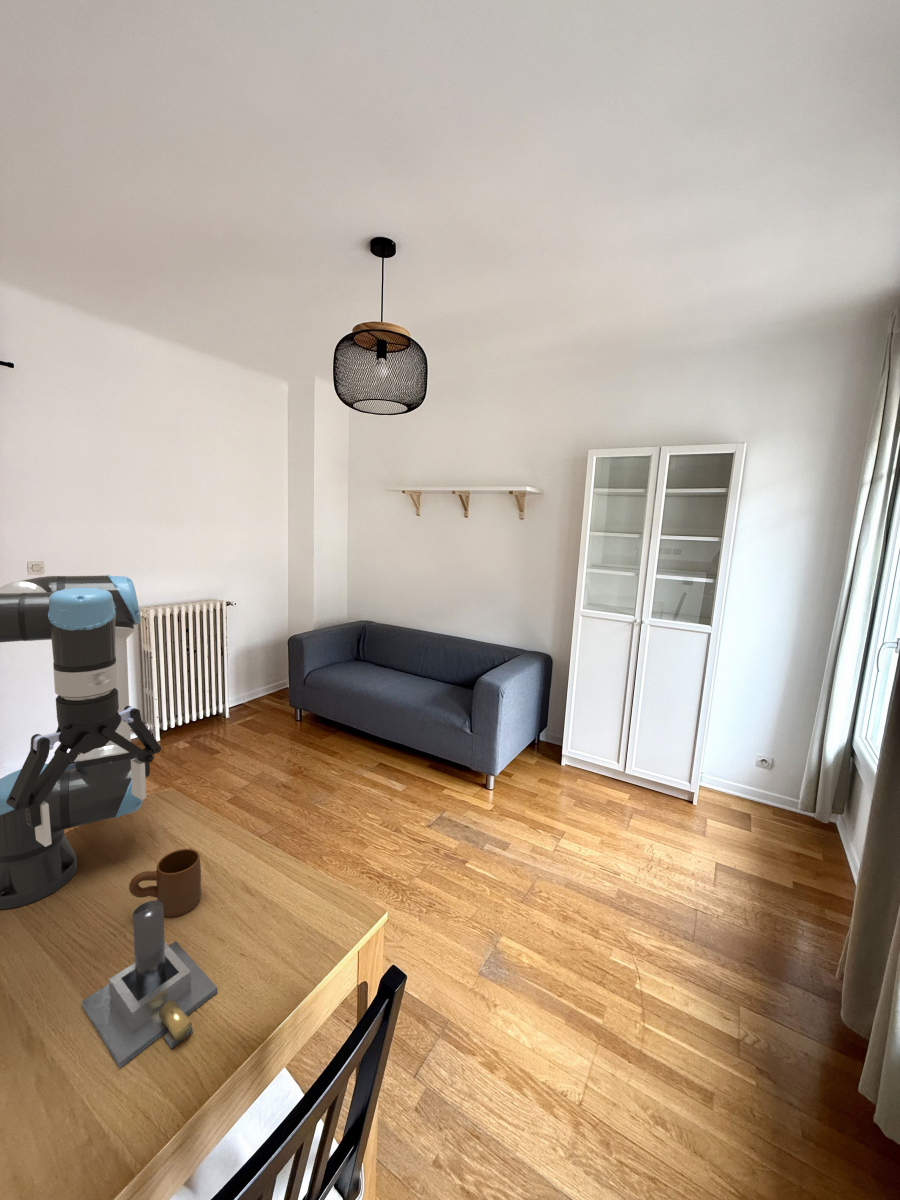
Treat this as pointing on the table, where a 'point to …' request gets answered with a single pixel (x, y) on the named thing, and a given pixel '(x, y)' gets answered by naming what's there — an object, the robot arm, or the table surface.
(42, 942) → the table surface
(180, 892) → the mug
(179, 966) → the open box on baseplate
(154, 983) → the dark cylinder
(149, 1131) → the table surface
